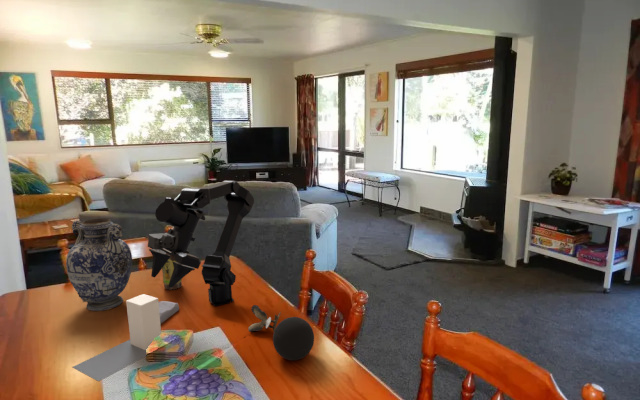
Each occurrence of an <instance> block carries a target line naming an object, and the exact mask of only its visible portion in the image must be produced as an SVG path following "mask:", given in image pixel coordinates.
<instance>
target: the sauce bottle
mask: <svg viewBox="0 0 640 400" xmlns="http://www.w3.org/2000/svg"><path fill="white" fill-rule="evenodd" d="M166 254H168V253H166ZM168 255H169V256H171V257H170V258H169V259H168V261H167V262H166V264H165V265H164V266H163V268H162V269H161V271H162V281H163V287H164V289H166V290H170V291H171V290H172V289H173V290H177V288H178V289H179V288H180V289H181V287H182V285H183V283H182V280H183V278H182V279H181V280H180V281H179V282H178V283H177V284H175V285H174V286H173V287H172V288H170V287H168V285H169V281H170V279H171V276H172V273H173V270H174V266H173V262H176V261H175V257H174V256H172V255H170V254H168ZM177 263H178V262H177Z"/></svg>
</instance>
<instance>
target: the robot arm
mask: <svg viewBox="0 0 640 400" xmlns="http://www.w3.org/2000/svg"><path fill="white" fill-rule="evenodd" d="M221 197H224V198H223V199H224V200H225V201H226V208H227V211H228V214H227V217H226V220H225V222H224V226H223V229H222V231H221V233H220V237H219V240H218V243H217V245H216V247H215V250H214V252H213V253H212V254H206V256H205V258H204V262H203V264H202V261H201V258H199V257H197V256H195V255H193V254H190V251H189V250H188V248H189V246H190V243H191V241H192V242H195V240H196V237H194V234H195V231H196V230H197V228H198V225H199V222H200V221H201V220H202V221H206V216H205V214H204V211H203V210H200V209H204V208H205V207H207V206H209V205H210V204H211V202H212V200H216V199H218V198H221ZM164 198H165V199H164V201H162V202H161V203H160V204H159V205H158V206H157V207H156V209H155V219H156V220H157V221H158V222H160V223H162V224H166V225H169V226H172V227H173V228H169V229H168V231H167V232H165V233H163V232H161V233H149V234H148V238H147V239H148V240H147V247H148V248H149V249H148V251H149V252H150V253H151V255H152V266H151V277H152V278H156V277H157V276H158V275H159V274H160V272H161V271H162V268H163V266H164V265H165V264H166V262H167V261H168V259H169V258H170V257H171V256H169V255H168V254H170V255H172V256H174V257H175V261H176V262H173V266H174V270H173V273H172V276H171V279H170V281H169V285H168V287H170V288H172V287H173V286H174V285H175V284H177V283H178V282H179V281H180V280H181V279H182V280H183V278H184V277H186V276H187V275H188V274H189V273H191V272H192V271H196V269H198V270H199V268H200V266H201V267H202V268H201V275H202V279H203V281H204V284H206V285H207V284H208V285H209V288H208V289H207V290H208V291H207V293H208V300H209V302H210V303H211V304H212V305H213V306H214V307H219V306H222V305H226V304H230V303H233V302H235V300H234V298H233V293H232V292H233V291H232V289H233V288H232V286H234V283H236V280H237V279H236V278H237V277H236V274H235V273H234V272H233V271H232V270H231V269H232V263H231V258H230V256H231V253H232V250H233V247H234V244H235V241H236V239H237V235H238V233H239V230H240V228H241V225H242V221H243V219H244V218H245V217H246V216H248V214H250V212H251V210H252V208H253V206H254V203H255V198H254V196H253V195H252V193H251V192H250V191H249V190H248V189H247V188H245V187H243V186H242V185H241V184H240V183H239V182H238V181H236V180H223V181H222V182H218V183H214V184H211V185H208V186H204V187H184V188H182V189H181V190H180V193H179V194H178V195H177V196H176V197H175V198H172V197H164ZM166 253H168V254H166ZM177 262H178V263H177ZM201 264H202V265H201Z"/></svg>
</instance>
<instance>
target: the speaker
mask: <svg viewBox="0 0 640 400" xmlns="http://www.w3.org/2000/svg"><path fill="white" fill-rule="evenodd" d="M272 343H273V348H274V349H275V351H276V353H277V354H278V355H279V356H280V357H282V358H283V359H286V360H288V361H299V360H301V359H303V358H304V357H307V355H309V353H310V352H311V351H312V349H313V347H314V344H315V333H314V331H313V327H312V326H311V325H310V323H309V322H308V321H307V320H305V319H303V318H301V317H299V316H290V317H287V318H284V319H283V320H281V321H280V322H279V323H277V325H276V328H275V331H273V336H272Z"/></svg>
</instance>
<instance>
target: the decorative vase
mask: <svg viewBox="0 0 640 400" xmlns="http://www.w3.org/2000/svg"><path fill="white" fill-rule="evenodd" d="M71 230H72V233H73V235H74V236H76V237H77V238H76V239H75V243H74V245H73V246H72V247H70V249H69V250H68V252H67V254H66V260H65V266H66V267H65V268H66V273H67V276H68V279H69V281H70V284H71V285H72V287H73V288H74V290H75V291H76V293H77V295H78V297H79V298H80V299H81V300H82V303H86V305H85V307H86V309H87V310H88V311H93V312H103V311H107V310H111V309H114V308H117V307H118V306H120V305H122V304H123V302H124V298H123V297H122V296H121V295H120V294H121V293H123V292H124V290H125V288H126V287H127V286H128V283H129V280H130V278H131V273H132V269H133V255H132V251H131V248H130V246H129V244H128V243H127V241H124V240H123V239H121V238H122V237H123V227H122V226H121V225H120V224H118V223H114V222H113V221H111V219H109V218H104V217H103V218H91V219H87V220H83V221H81V220H76V221H75V220H74V221H73V222H72V224H71Z"/></svg>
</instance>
